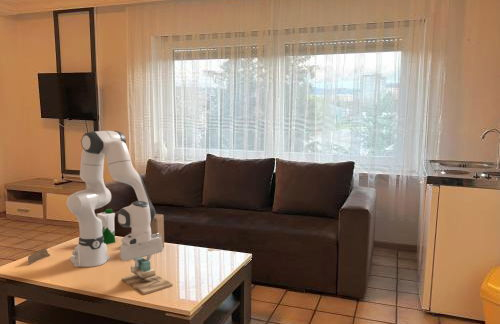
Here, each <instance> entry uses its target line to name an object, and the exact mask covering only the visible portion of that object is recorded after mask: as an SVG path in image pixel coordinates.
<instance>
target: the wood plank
mask: <svg viewBox="0 0 500 324" xmlns="http://www.w3.org/2000/svg"><path fill="white" fill-rule="evenodd" d="M48 251H49V250H48V248H47V247H44V248H42V249H38V250H37V251H35V252H33V253H32V254H30V255H29V256H27V265H28V266H30V265H32V264H34V263H37V262H38V261H41V260H43V259H46V258H48V257H50V256H51V254H50V253H49V252H48Z"/></svg>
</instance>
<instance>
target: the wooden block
mask: <svg viewBox="0 0 500 324" xmlns="http://www.w3.org/2000/svg"><path fill="white" fill-rule="evenodd" d="M164 222H165V219H164V214H161V213H160V214H159V213H156V214H155V218H154V220H153V221H152V222H151V223H150V227H151V234H156V233H159V234H161V236H162V240H161V241H162V247H163V249H164V248H165V224H164Z"/></svg>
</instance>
